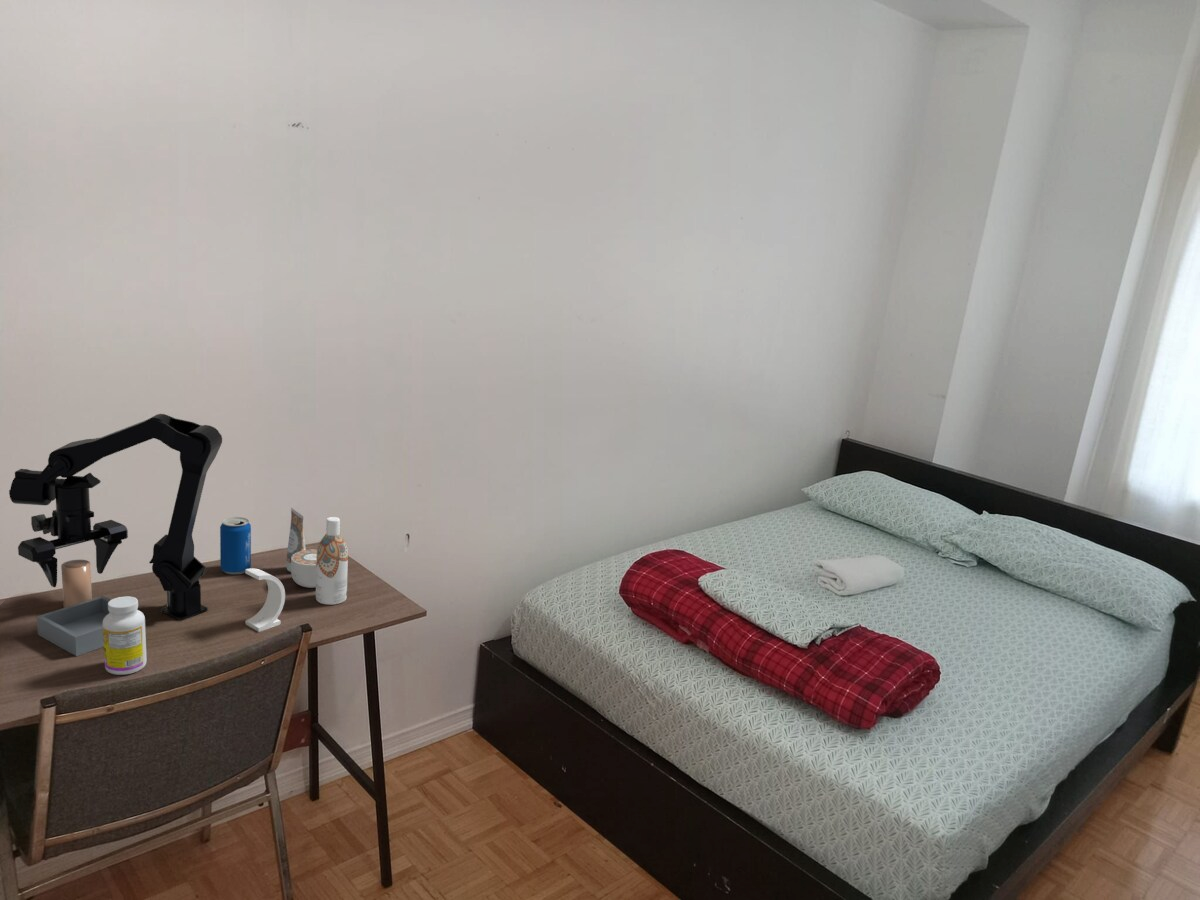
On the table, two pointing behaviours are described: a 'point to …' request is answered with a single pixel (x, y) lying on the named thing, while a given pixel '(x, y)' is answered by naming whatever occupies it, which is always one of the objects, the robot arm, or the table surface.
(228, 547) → the beverage can
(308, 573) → the cosmetic set
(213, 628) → the table surface
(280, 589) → the headphone stand
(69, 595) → the cup
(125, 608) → the supplement bottle
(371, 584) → the table surface
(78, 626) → the tray
